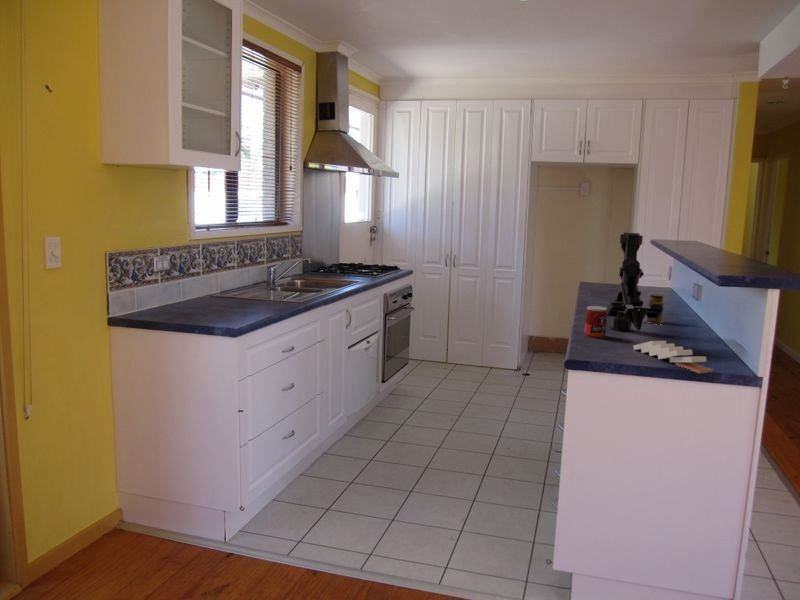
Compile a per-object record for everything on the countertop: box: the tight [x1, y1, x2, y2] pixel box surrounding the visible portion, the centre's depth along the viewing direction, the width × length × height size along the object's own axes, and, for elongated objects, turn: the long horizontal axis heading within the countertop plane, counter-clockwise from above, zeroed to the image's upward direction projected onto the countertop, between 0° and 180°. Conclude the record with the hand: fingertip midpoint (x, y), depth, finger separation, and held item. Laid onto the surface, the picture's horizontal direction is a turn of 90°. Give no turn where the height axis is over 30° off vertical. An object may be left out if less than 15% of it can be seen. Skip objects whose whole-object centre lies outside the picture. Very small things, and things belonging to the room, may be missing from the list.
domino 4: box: [657, 349, 694, 360], centre depth 215 cm, size 2×6×10 cm
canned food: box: [584, 305, 608, 339], centre depth 251 cm, size 8×8×11 cm
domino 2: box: [640, 343, 676, 354], centre depth 223 cm, size 2×6×10 cm
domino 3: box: [648, 346, 684, 357], centre depth 219 cm, size 2×6×10 cm
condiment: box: [646, 294, 664, 326], centre depth 285 cm, size 7×8×12 cm
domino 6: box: [674, 362, 714, 374], centre depth 209 cm, size 2×6×10 cm
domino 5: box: [669, 356, 707, 363], centre depth 210 cm, size 2×6×10 cm
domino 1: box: [632, 340, 667, 351], centre depth 227 cm, size 2×6×10 cm
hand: (639, 329), depth 231 cm, fingers closed
